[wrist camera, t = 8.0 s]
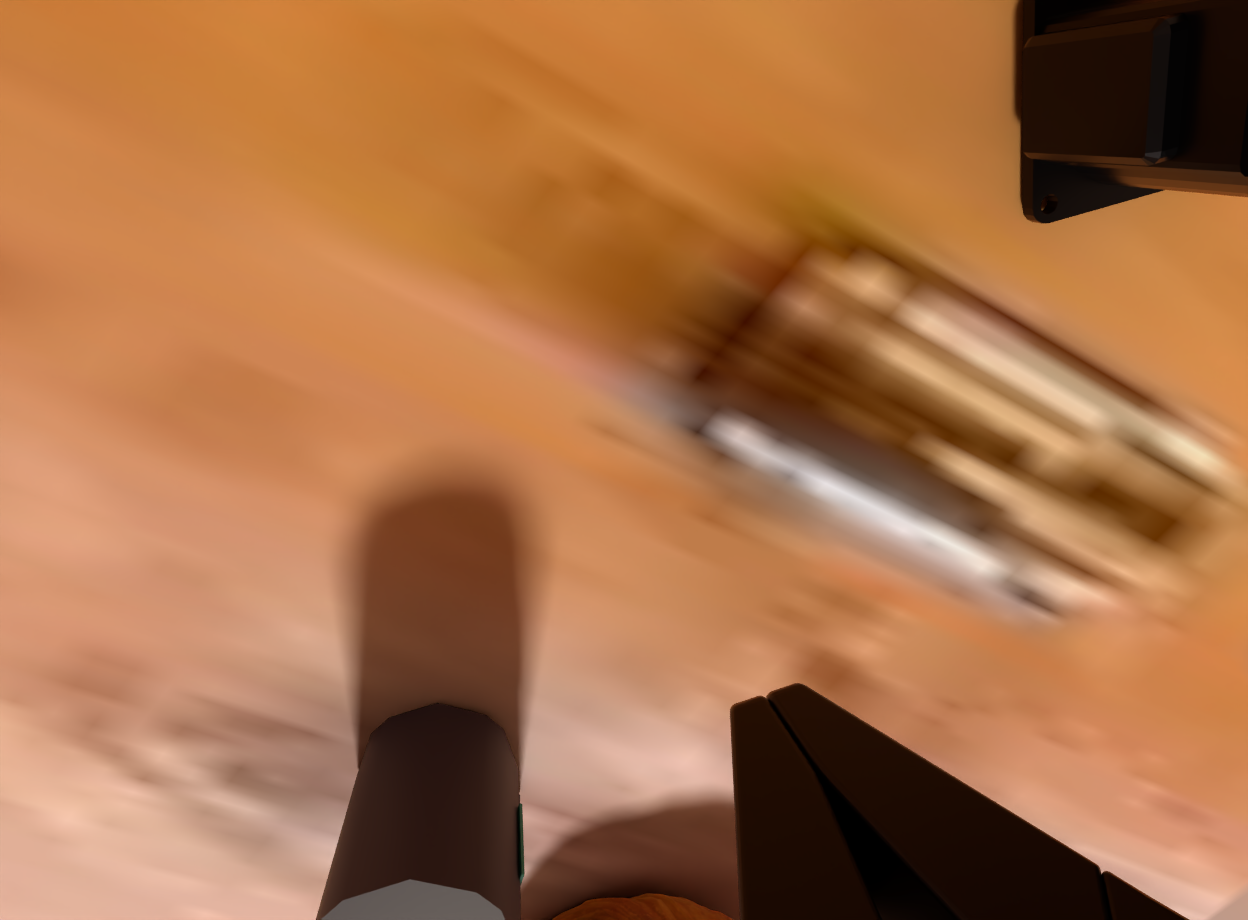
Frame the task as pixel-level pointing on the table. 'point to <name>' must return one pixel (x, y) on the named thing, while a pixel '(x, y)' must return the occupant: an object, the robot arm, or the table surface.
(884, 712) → the table surface
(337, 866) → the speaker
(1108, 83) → the robot arm
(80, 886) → the table surface
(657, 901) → the croissant
